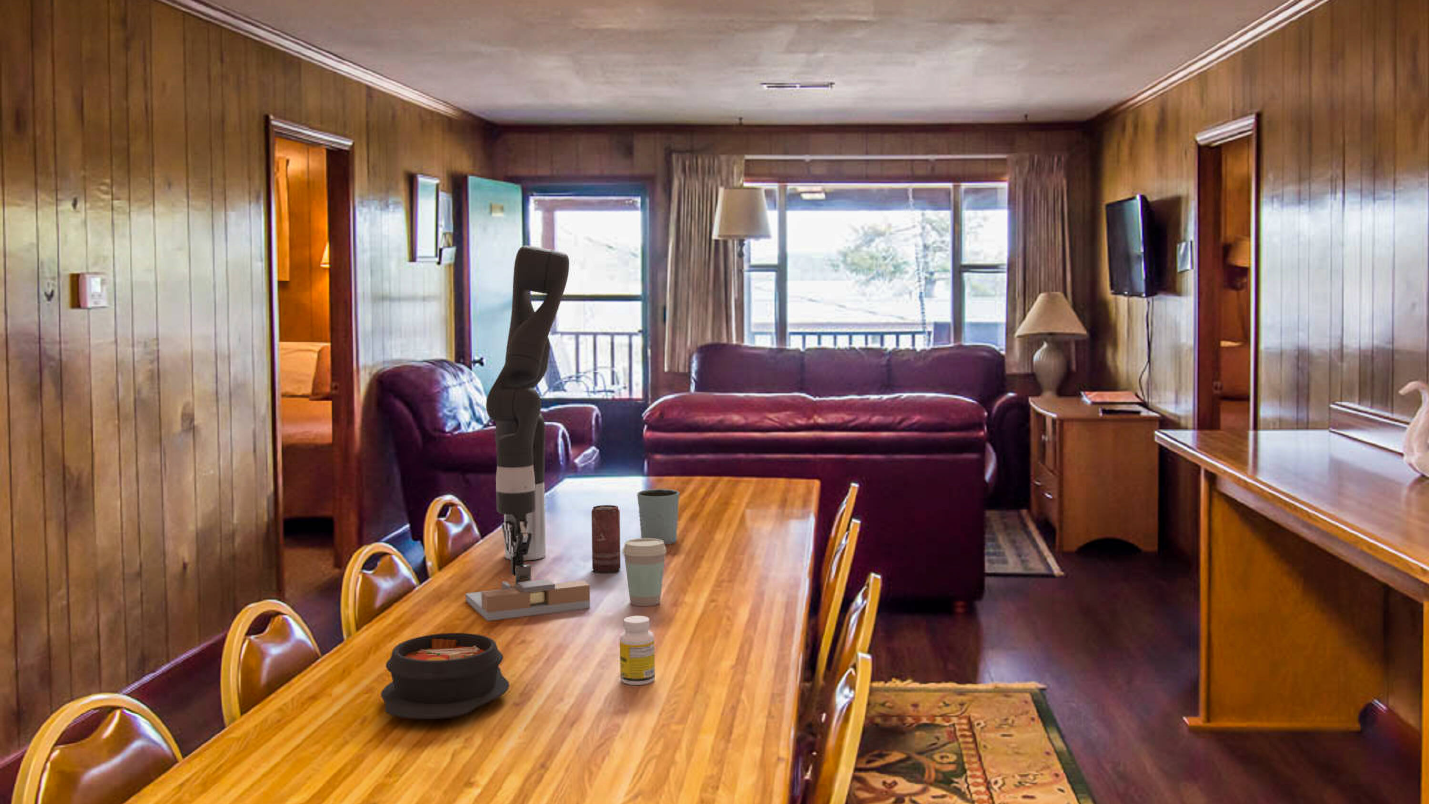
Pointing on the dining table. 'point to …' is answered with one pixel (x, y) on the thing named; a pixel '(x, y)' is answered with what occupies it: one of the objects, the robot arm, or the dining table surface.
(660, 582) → the coffee cup
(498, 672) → the casserole
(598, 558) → the can
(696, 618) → the dining table surface
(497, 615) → the door plate
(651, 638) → the supplement bottle
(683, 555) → the dining table surface
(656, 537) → the grey tapered cup
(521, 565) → the bolt
